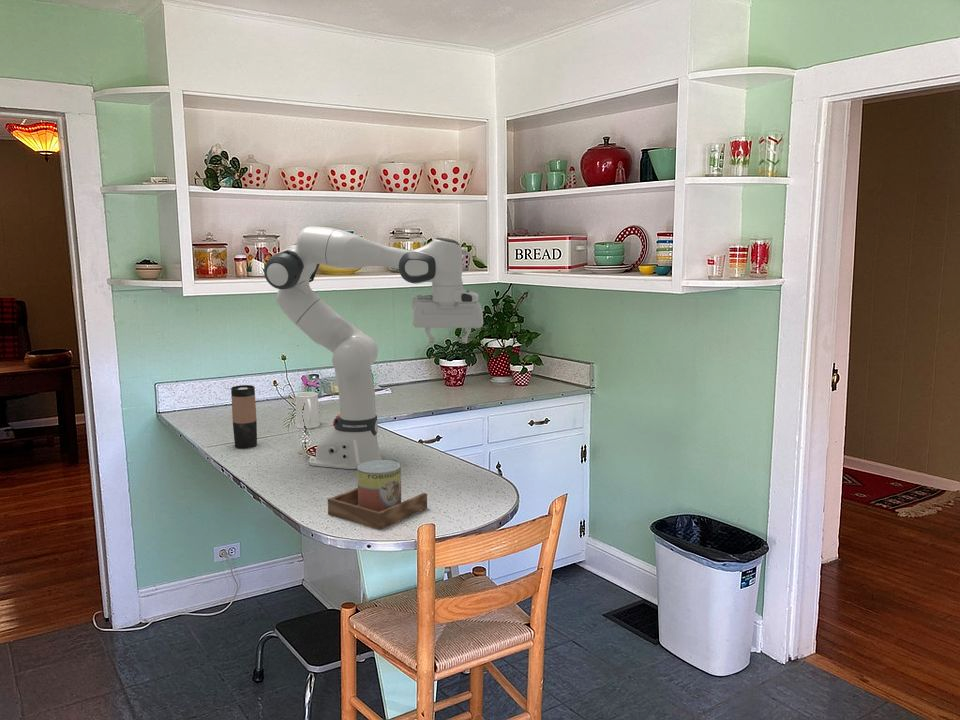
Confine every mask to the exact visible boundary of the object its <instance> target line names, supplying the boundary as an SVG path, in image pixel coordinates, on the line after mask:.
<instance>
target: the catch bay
mask: <svg viewBox="0 0 960 720" xmlns="http://www.w3.org/2000/svg"><path fill="white" fill-rule="evenodd" d="M356 504H357V505H356ZM423 509H424V510H427V509H428V493H426V492H422V493H420V494H418V495H416V496H413V497H411V498H409V499H405V500H404V501H401V503H399V504H397V505H394V506H392V507H389V508H387V509H385V510H382V511H380V512H378V511H375V510H371V509H367V508H364V507H360V506H358V487H355V488H353V489H351V490H348V491H345V492H343V493H340V494H337V495H335V496H333V497H330V498H327V514H328V515H330V516H333V517H337V518H339V519H340V518H341V519H344V520H346V521H350V522H354V523H357V524H360V525H364V526H367V527H370V528H373V527H374V528H373V529H377V530H381V529H385V528H387V527H388V526H391V525H393V524H395V523H398V522H400V521H402V520H404V519H407V518H408V516H409V517H410V515H411V516H413V515H415V514H417V512H418V513H420V512H422V511H424V510H423ZM421 510H422V511H421ZM419 511H420V512H419ZM414 513H415V514H414ZM412 514H413V515H412ZM406 517H407V518H406ZM401 519H402V520H401ZM399 520H400V521H399ZM397 521H398V522H397ZM386 526H387V527H386Z"/></svg>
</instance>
